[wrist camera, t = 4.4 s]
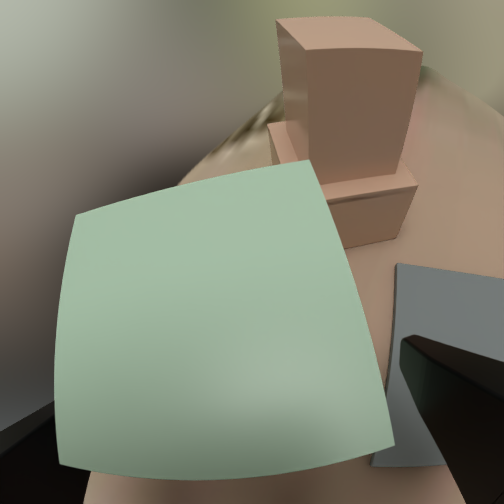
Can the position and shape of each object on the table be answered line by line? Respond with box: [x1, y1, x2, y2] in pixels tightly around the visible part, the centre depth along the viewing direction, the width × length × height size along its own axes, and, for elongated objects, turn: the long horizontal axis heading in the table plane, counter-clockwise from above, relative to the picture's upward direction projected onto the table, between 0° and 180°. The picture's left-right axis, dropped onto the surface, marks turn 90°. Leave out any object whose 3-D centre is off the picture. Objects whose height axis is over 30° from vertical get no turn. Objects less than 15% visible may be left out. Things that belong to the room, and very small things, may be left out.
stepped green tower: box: [54, 160, 395, 480], centre depth 10 cm, size 7×7×12 cm
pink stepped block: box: [267, 17, 423, 249], centre depth 15 cm, size 7×7×12 cm
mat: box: [370, 263, 504, 467], centre depth 13 cm, size 12×12×1 cm
